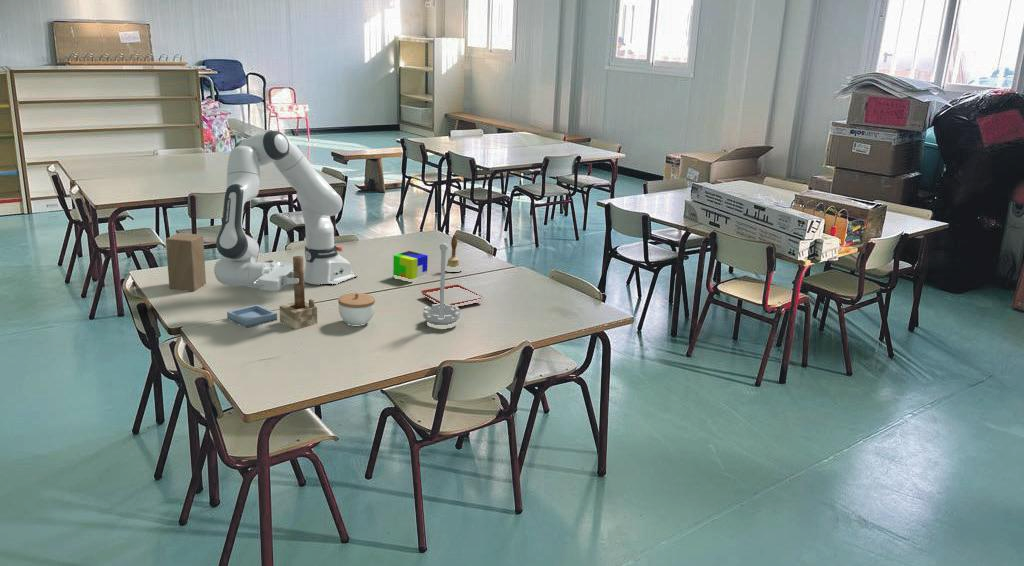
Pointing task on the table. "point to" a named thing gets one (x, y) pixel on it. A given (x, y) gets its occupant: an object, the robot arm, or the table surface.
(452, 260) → the hand bell
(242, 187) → the robot arm
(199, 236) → the wooden block
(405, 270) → the puzzle toy
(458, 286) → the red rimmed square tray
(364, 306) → the lidded bowl
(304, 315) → the block
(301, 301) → the dowel
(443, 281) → the flag stand
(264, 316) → the tray
